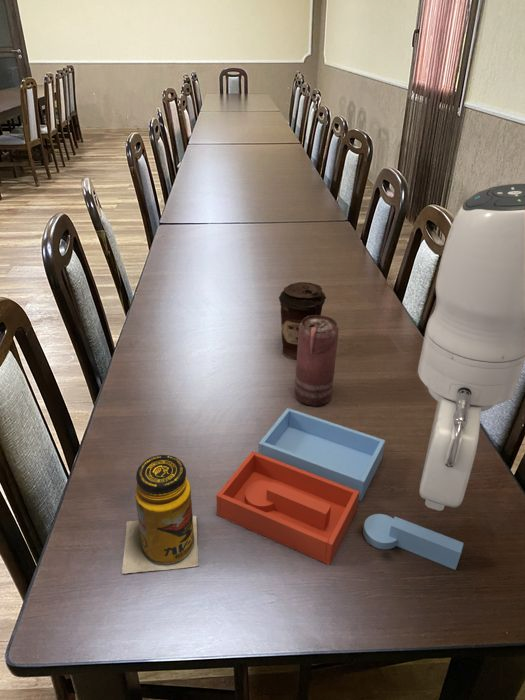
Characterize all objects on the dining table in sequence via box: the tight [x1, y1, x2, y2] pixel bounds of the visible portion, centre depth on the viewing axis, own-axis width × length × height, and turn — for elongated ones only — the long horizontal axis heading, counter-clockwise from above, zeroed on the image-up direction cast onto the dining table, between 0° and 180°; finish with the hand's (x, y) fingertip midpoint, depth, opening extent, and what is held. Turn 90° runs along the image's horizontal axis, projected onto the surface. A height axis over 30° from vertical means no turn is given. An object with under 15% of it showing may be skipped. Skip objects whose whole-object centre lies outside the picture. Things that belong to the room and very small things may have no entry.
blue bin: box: [258, 407, 386, 502], centre depth 75 cm, size 15×9×4 cm, turn 62°
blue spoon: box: [362, 513, 464, 571], centre depth 63 cm, size 11×4×3 cm, turn 62°
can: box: [294, 314, 340, 407], centre depth 86 cm, size 6×6×14 cm
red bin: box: [215, 450, 359, 566], centre depth 67 cm, size 15×9×4 cm, turn 62°
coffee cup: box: [278, 281, 327, 360], centre depth 98 cm, size 9×8×13 cm
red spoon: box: [245, 481, 331, 531], centre depth 67 cm, size 11×4×3 cm, turn 62°
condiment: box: [121, 454, 199, 575], centre depth 60 cm, size 7×8×12 cm
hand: (439, 473), depth 57 cm, fingers open, 8 cm apart
